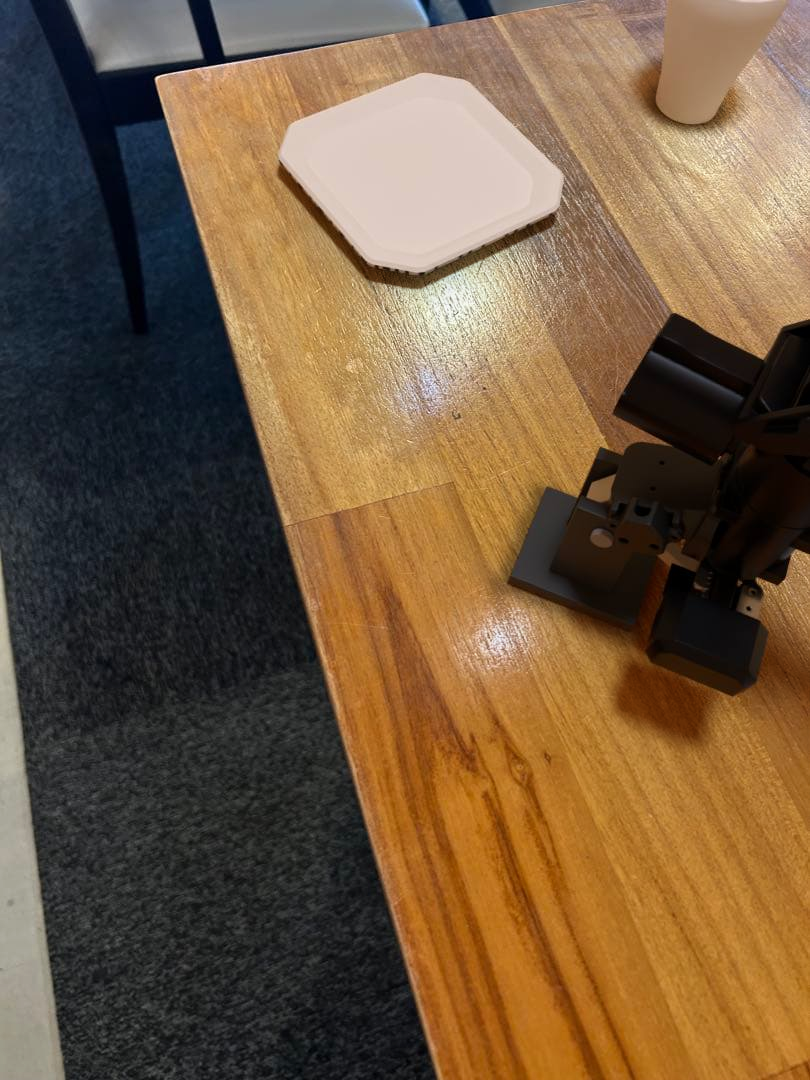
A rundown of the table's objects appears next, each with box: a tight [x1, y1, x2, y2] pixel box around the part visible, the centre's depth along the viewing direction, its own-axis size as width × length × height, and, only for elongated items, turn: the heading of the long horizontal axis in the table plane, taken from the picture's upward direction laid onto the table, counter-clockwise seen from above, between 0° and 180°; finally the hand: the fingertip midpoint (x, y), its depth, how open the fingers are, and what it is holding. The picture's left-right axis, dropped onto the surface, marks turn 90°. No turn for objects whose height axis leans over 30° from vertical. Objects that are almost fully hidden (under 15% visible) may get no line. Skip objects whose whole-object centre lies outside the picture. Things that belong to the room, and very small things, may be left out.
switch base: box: [507, 446, 658, 633], centre depth 63 cm, size 9×8×10 cm
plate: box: [277, 72, 565, 276], centre depth 84 cm, size 21×21×2 cm
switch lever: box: [587, 474, 717, 572], centre depth 62 cm, size 12×3×3 cm
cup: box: [655, 0, 790, 125], centre depth 87 cm, size 10×10×14 cm
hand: (685, 598), depth 67 cm, fingers closed on switch lever, 3 cm apart
